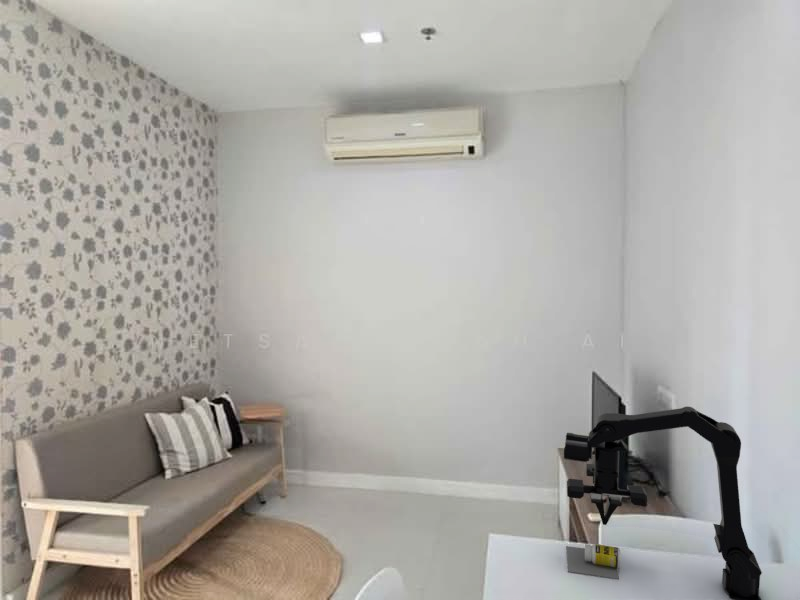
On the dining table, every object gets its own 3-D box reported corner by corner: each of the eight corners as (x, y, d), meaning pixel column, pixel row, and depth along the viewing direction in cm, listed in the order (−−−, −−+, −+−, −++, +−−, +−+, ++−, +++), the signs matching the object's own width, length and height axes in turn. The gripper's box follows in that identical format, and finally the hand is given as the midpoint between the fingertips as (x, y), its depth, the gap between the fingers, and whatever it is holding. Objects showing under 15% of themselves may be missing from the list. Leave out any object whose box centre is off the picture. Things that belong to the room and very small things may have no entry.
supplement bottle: (620, 555, 134) (585, 549, 136) (620, 572, 135) (584, 566, 137) (619, 543, 138) (584, 538, 141) (618, 560, 139) (584, 554, 142)
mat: (613, 553, 143) (613, 552, 143) (619, 579, 132) (619, 578, 131) (566, 547, 146) (566, 545, 146) (567, 572, 135) (568, 571, 135)
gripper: (641, 456, 141) (638, 513, 143) (566, 449, 146) (565, 505, 147) (648, 473, 130) (646, 535, 132) (568, 465, 135) (566, 525, 137)
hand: (604, 524), depth 137 cm, fingers closed
